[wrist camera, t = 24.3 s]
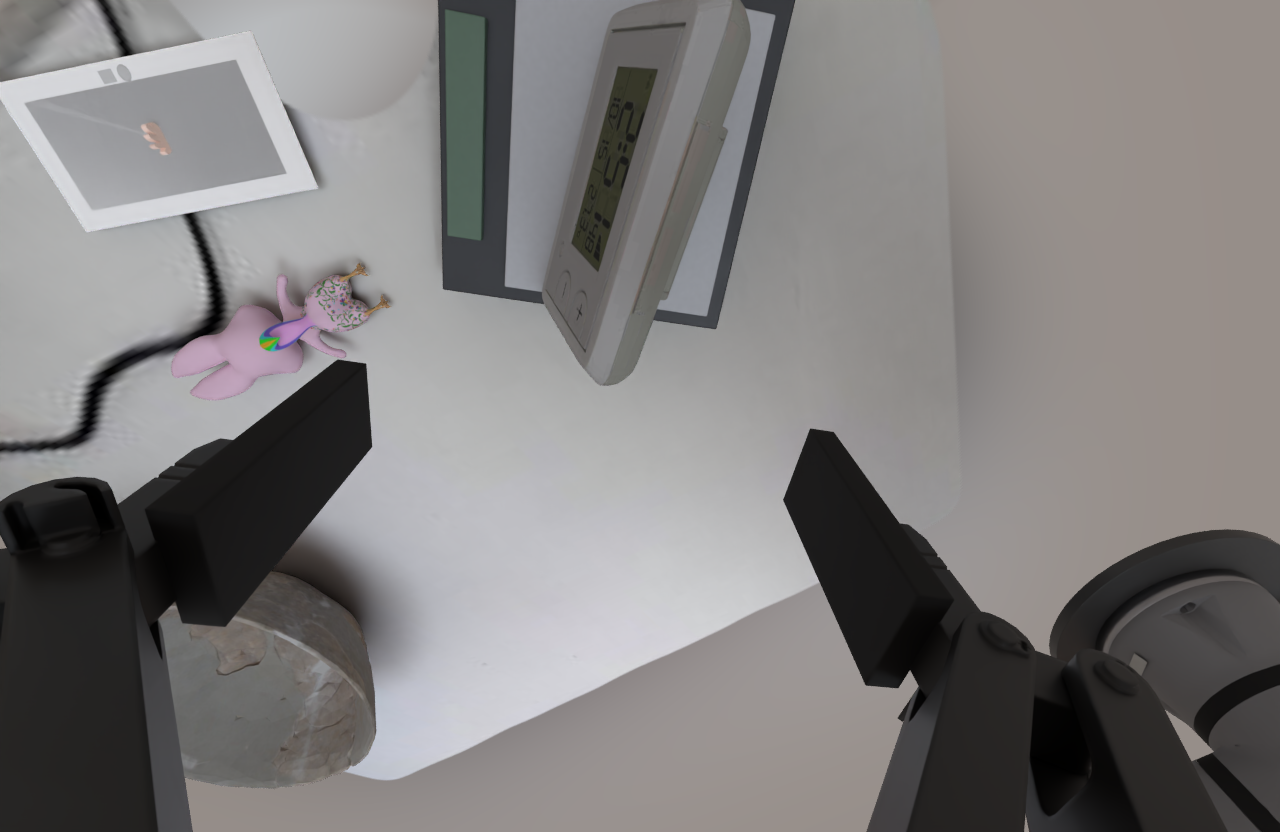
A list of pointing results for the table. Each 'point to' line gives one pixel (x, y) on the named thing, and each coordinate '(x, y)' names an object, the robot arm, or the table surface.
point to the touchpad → (161, 132)
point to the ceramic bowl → (271, 689)
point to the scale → (569, 144)
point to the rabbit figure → (272, 337)
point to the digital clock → (641, 173)
